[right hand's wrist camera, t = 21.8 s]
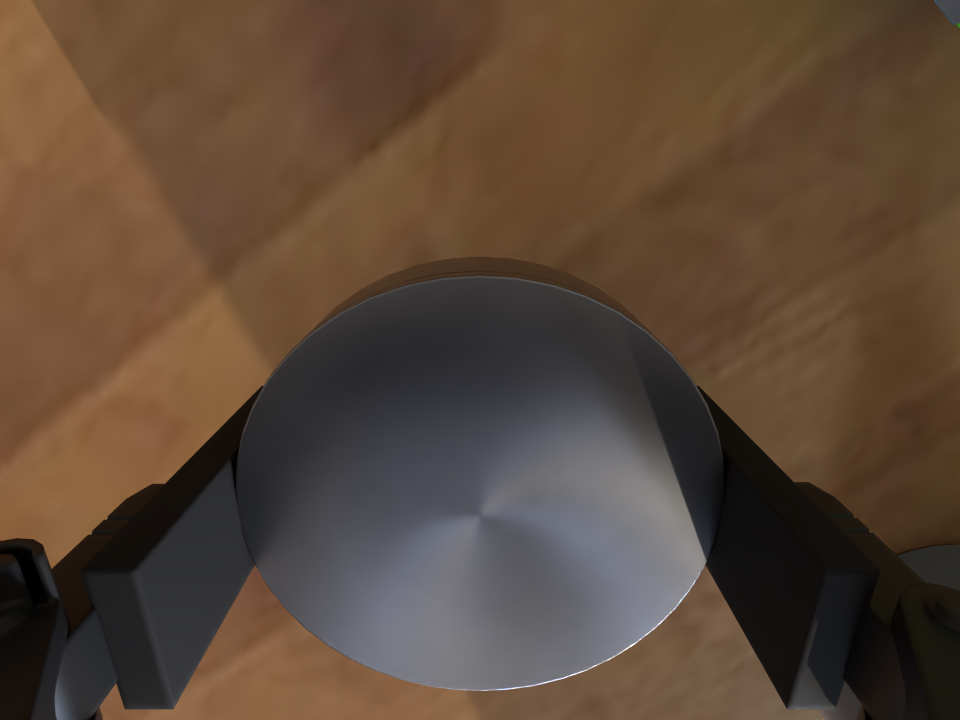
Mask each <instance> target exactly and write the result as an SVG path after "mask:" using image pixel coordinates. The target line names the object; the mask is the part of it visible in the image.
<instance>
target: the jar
mask: <svg viewBox="0 0 960 720" xmlns="http://www.w3.org/2000/svg"><path fill="white" fill-rule="evenodd" d="M897 556H898V557H899V558H900V559H901V560H902V561H903V562H904V563H905V564H907V565H908V566H909V567H910V568H911V569H912V570H913V571H914V572H915V573H916V574H917V575H918V576H919V577H920V578H922V579H923V580H924V581H925V582H926V583H932V584H937V585H942V586H947V587H950V588H953V589H956V590H958V591H960V544H954V545H939V546H931V547H926V548H921V549H917V550H912V551H909V552H906V553H903V554H900V555H897ZM861 705H862V704H861V703H860V701H859V700H858V698H857V697H856V696H855V694H854V693H853V691H852V690H851V689H850V687H849V686H848V684H847V683H846V682H845V681H844V685H843V688H842V691H841V694H840V697H839V700H838V703H837V706H836V709H818V711H819V713H820V714H821V716H822V717H823V719H824V720H857V717H858V714H859V711H860V708H861Z"/></svg>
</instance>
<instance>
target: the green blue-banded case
mask: <svg viewBox="0 0 960 720" xmlns="http://www.w3.org/2000/svg"><path fill="white" fill-rule="evenodd" d="M934 2H935V3H936V4H937V5H938V7H939V8H940V9H941V11H942V12H943V13H944V14H945V16H946V17H947V18H948V20H949V21H950V22H951V24H952V25H955V24H956V25H957V26H958V27H959V28H960V0H934Z"/></svg>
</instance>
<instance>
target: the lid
mask: <svg viewBox="0 0 960 720" xmlns="http://www.w3.org/2000/svg"><path fill="white" fill-rule="evenodd" d="M724 493H725V477H724V459H723V454H722V450H721V445H720V440H719V435H718V431H717V428H716V426H715V423H714V421H713V418H712V416H711V413H710V410H709V408H708V405H707V403H706V401H705V400H704V398H703V396H702V394H701V393H700V391H699V389H698V388H697V386H696V384H695V382H694V381H693V379H692V377H691V376H690V375H689V374H688V372H687V371H686V370H685V369H684V367H683V366H682V365H681V364H680V362H679V361H678V360H677V359H676V357H675V356H674V355H673V354H672V353H671V352H670V351H669V350H668V349H667V348H666V347H665V346H664V345H663V344H662V343H661V342H660V341H659V340H658V339H657V338H656V337H655V336H654V335H653V334H652V333H651V332H650V331H649V330H648V329H647V328H646V327H645V326H644V325H643V324H642V323H641V322H640V321H638V320H637V319H636V318H635V317H634V316H633V315H632V314H631V313H630V312H629V311H628V310H627V309H625V308H624V307H623V306H622V305H621V304H620V303H618V302H617V301H615V300H614V299H612V298H611V297H609V296H608V295H607V294H605V293H604V292H602V291H601V290H599V289H598V288H596V287H594V286H592V285H590V284H588V283H586V282H584V281H582V280H580V279H578V278H576V277H574V276H572V275H570V274H567V273H564V272H561V271H558V270H555V269H552V268H549V267H546V266H544V265H540V264H535V263H530V262H525V261H520V260H515V259H508V258H491V257H468V258H454V259H445V260H440V261H435V262H431V263H426V264H421V265H417V266H414V267H411V268H408V269H405V270H402V271H399V272H397V273H394V274H391V275H388V276H386V277H384V278H382V279H380V280H378V281H376V282H374V283H372V284H371V285H369V286H367V287H365V288H363V289H361V290H360V291H358V292H357V293H355V294H354V295H352V296H351V297H350V298H348V299H347V300H345V301H344V302H342V303H341V304H340V305H338V306H337V307H336V308H335V309H334V310H333V311H332V312H331V313H330V314H329V315H327V316H326V317H325V318H324V319H323V320H322V321H321V322H320V323H319V324H318V325H317V326H316V327H315V328H314V329H313V330H312V331H311V332H310V333H309V334H308V335H307V336H306V337H305V338H304V339H303V340H301V341H300V342H299V343H298V344H297V345H296V346H295V347H294V348H293V349H292V350H291V351H290V352H289V353H288V354H287V355H286V357H285V358H284V359H283V360H282V362H281V363H280V364H279V365H278V367H277V368H276V369H275V371H274V372H273V373H272V374H271V376H270V377H269V378H268V379H267V381H266V383H265V385H264V387H263V388H262V390H261V392H260V394H259V395H258V397H257V399H256V401H255V402H254V404H253V406H252V409H251V411H250V414H249V417H248V419H247V422H246V425H245V428H244V430H243V433H242V437H241V442H240V447H239V452H238V457H237V467H236V498H237V505H238V511H239V517H240V522H241V526H242V531H243V534H244V538H245V542H246V544H247V547H248V549H249V551H250V554H251V556H252V558H253V560H254V563H255V565H256V567H257V569H258V571H259V572H260V574H261V575H262V577H263V579H264V580H265V582H266V584H267V585H268V587H269V589H270V590H271V591H272V593H273V594H274V595H275V596H276V598H277V599H278V600H279V601H280V602H281V604H282V605H283V606H284V607H285V609H286V610H287V611H288V612H289V613H290V614H291V615H292V616H293V617H294V618H295V619H296V620H297V621H298V622H299V623H300V624H301V625H302V626H303V627H305V628H306V629H307V630H308V631H309V632H311V633H312V634H313V635H315V636H316V637H317V638H319V639H320V640H321V641H322V642H324V643H325V644H326V645H328V646H329V647H331V648H333V649H334V650H336V651H338V652H339V653H341V654H343V655H344V656H346V657H348V658H349V659H351V660H353V661H356V662H358V663H360V664H362V665H364V666H366V667H368V668H371V669H373V670H375V671H378V672H381V673H384V674H386V675H389V676H392V677H395V678H398V679H401V680H405V681H409V682H413V683H418V684H422V685H426V686H432V687H439V688H446V689H454V690H475V691H486V690H506V689H515V688H521V687H528V686H535V685H539V684H543V683H547V682H551V681H555V680H559V679H563V678H566V677H569V676H572V675H574V674H577V673H580V672H583V671H586V670H588V669H590V668H592V667H595V666H597V665H599V664H601V663H603V662H605V661H607V660H609V659H611V658H613V657H615V656H616V655H618V654H620V653H621V652H623V651H625V650H626V649H628V648H629V647H631V646H633V645H634V644H636V643H637V642H638V641H640V640H641V639H642V638H643V637H645V636H646V635H647V634H649V633H650V632H651V631H652V630H654V629H655V628H656V627H657V626H658V625H659V624H660V623H661V622H662V621H663V620H664V619H665V618H666V617H667V616H668V615H669V614H670V613H672V612H673V611H674V610H675V608H676V607H677V606H678V605H679V603H680V602H681V601H682V600H683V598H684V597H685V596H686V595H687V593H688V592H689V591H690V589H691V588H692V587H693V585H694V583H695V581H696V580H697V578H698V576H699V575H700V573H701V571H702V570H703V568H704V566H705V564H706V562H707V560H708V557H709V555H710V553H711V550H712V548H713V546H714V543H715V541H716V537H717V533H718V529H719V524H720V519H721V514H722V508H723V502H724Z"/></svg>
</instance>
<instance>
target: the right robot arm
mask: <svg viewBox="0 0 960 720" xmlns="http://www.w3.org/2000/svg"><path fill="white" fill-rule="evenodd" d="M263 387H264V386H261V387H260V388H259V389H258V390H257V391H256V392H255V393H254V394H253V395H252V396H251V398H250V399H249V400H248V401H247V402H246V403H245V404H244V405H243V406H242V407H241V408H240V409H239V410H238V411H237V412H236V413H235V414H234V415H233V416H232V417H231V418H230V419H229V420H228V421H227V422H226V423H225V424H224V425H223V426H222V427H221V428H220V429H219V430H218V431H217V432H216V433H215V434H214V435H213V436H212V437H211V438H210V439H209V440H208V441H207V442H206V443H205V444H204V445H203V446H202V447H201V448H200V449H199V450H198V451H197V452H196V453H195V454H194V455H193V456H192V457H191V458H190V459H189V460H188V461H187V462H186V463H185V464H184V465H183V466H182V467H181V468H180V469H179V470H178V471H177V472H176V473H175V474H174V475H173V476H172V477H171V478H170V479H169V480H168V481H167V482H166V483H165V484H151V485H150V486H148V487H146V488H144V489H143V490H141V491H139V492H137V493H136V494H134V495H132V496H130V497H129V498H127V499H126V500H125V501H124V502H123V503H121V504H120V505H119V506H118V507H117V508H116V509H115V510H114V511H113V512H112V513H111V514H110V515H109V516H108V519H107V520H103V521H102V522H101V523H100V524H99V525H98V526H97V527H96V528H95V529H94V530H93V531H92V535H87V536H86V537H85V538H84V539H83V540H82V541H81V542H80V543H79V544H78V545H77V546H76V547H75V548H74V549H73V550H72V551H71V552H69V553H68V554H67V555H66V556H65V557H64V558H63V559H62V560H61V561H60V562H59V563H58V564H57V565H56V566H55V567H54V568H52V569H51V567H50V564H49V561H48V558H47V556H46V553H45V550H44V547H43V545H42V544H41V543H39V542H37V541H35V540H34V539H20V538H16V539H10V540H4V541H0V720H103V718H102V714H101V711H100V708H99V706H100V705H101V703H102V702H103V701H104V699H105V698H106V696H107V695H108V693H109V692H110V691H111V689H112V688H113V686H114V685H115V683H117V686H118V689H119V692H120V696H121V699H122V702H123V705H124V708H125V709H174V707H175V705H176V703H177V702H178V700H179V698H180V696H181V694H182V693H183V691H184V689H185V687H186V686H187V684H188V682H189V680H190V678H191V677H192V675H193V673H194V671H195V670H196V668H197V666H198V664H199V663H200V661H201V659H202V657H203V655H204V654H205V652H206V650H207V648H208V647H209V645H210V643H211V641H212V639H213V638H214V636H215V634H216V632H217V631H218V629H219V627H220V625H221V624H222V622H223V620H224V618H225V616H226V615H227V613H228V611H229V609H230V608H231V606H232V604H233V602H234V600H235V599H236V597H237V595H238V593H239V592H240V590H241V588H242V586H243V585H244V583H245V581H246V579H247V577H248V576H249V574H250V572H251V570H252V569H253V567H254V565H255V563H254V560H253V558H252V556H251V554H250V551H249V549H248V547H247V544H246V542H245V538H244V534H243V531H242V526H241V522H240V517H239V511H238V505H237V498H236V467H237V457H238V452H239V447H240V442H241V437H242V433H243V430H244V428H245V425H246V422H247V419H248V417H249V414H250V411H251V409H252V406H253V404H254V402H255V401H256V399H257V397H258V395H259V394H260V392H261V390H262V388H263ZM697 388H698V389H699V391H700V393H701V394H702V396H703V398H704V400H705V401H706V403H707V405H708V408H709V410H710V413H711V416H712V418H713V421H714V423H715V426H716V428H717V431H718V435H719V440H720V445H721V450H722V454H723V459H724V477H725V493H724V502H723V508H722V514H721V519H720V524H719V529H718V533H717V537H716V541H715V543H714V546H713V548H712V550H711V553H710V555H709V557H708V560H707V562H706V566H707V568H708V570H709V572H710V573H711V575H712V577H713V579H714V580H715V582H716V584H717V586H718V588H719V589H720V591H721V593H722V595H723V596H724V598H725V600H726V602H727V603H728V605H729V607H730V609H731V611H732V612H733V614H734V616H735V618H736V619H737V621H738V623H739V625H740V626H741V628H742V630H743V632H744V634H745V635H746V637H747V639H748V641H749V642H750V644H751V646H752V648H753V650H754V651H755V653H756V655H757V657H758V658H759V660H760V662H761V664H762V665H763V667H764V669H765V671H766V673H767V674H768V676H769V678H770V680H771V681H772V683H773V685H774V687H775V688H776V690H777V692H778V694H779V696H780V697H781V699H782V701H783V703H784V704H785V706H786V708H787V709H836V706H837V703H838V700H839V697H840V694H841V691H842V688H843V685H844V681H845V682H846V683H847V684H848V686H849V687H850V689H851V690H852V691H853V693H854V694H855V696H856V697H857V698H858V700H859V701H860V703H861V704H862V705H861V708H860V711H859V714H858V717H857V720H960V591H958V590H956V589H953V588H950V587H947V586H942V585H937V584H932V583H926V582H925V581H924V580H923V579H922V578H920V577H919V576H918V575H917V574H916V573H915V572H914V571H913V570H912V569H911V568H910V567H909V566H908V565H907V564H905V563H904V562H903V561H902V560H901V559H900V558H899V557H898V556H897V555H896V554H895V553H894V552H893V551H892V550H891V549H889V548H888V547H887V546H886V545H885V544H884V543H883V542H882V541H881V540H880V539H879V538H878V537H877V536H876V535H874V534H873V533H869V529H868V528H867V527H866V526H865V525H864V524H863V523H862V522H861V521H860V520H858V519H857V518H854V517H853V514H852V513H851V512H850V511H849V510H848V509H847V508H846V507H845V506H843V505H842V504H841V503H840V502H839V501H838V500H837V499H836V498H835V497H833V496H832V495H830V494H828V493H826V492H825V491H823V490H821V489H819V488H818V487H816V486H814V485H812V484H811V483H809V482H793V481H792V480H791V479H790V478H789V477H788V476H787V475H786V474H785V473H784V472H783V471H782V470H781V469H780V468H779V467H778V466H777V465H776V464H775V463H774V462H773V461H772V460H771V459H770V458H769V457H768V456H767V455H766V454H765V453H764V452H763V451H762V450H761V449H760V448H759V447H758V446H757V445H756V444H755V443H754V442H753V441H752V440H751V439H750V438H749V437H748V436H747V435H746V434H745V433H744V432H743V430H742V429H741V428H740V427H739V426H738V425H737V424H736V423H735V422H734V421H733V420H732V419H731V418H730V417H729V416H728V415H727V414H726V413H725V412H724V411H723V410H722V409H721V408H720V407H719V406H718V405H717V404H716V403H715V402H714V401H713V400H712V399H711V398H710V397H709V396H708V395H707V394H706V393H705V392H704V391H703V390H702V389H701V388H700V387H699V386H697Z"/></svg>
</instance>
